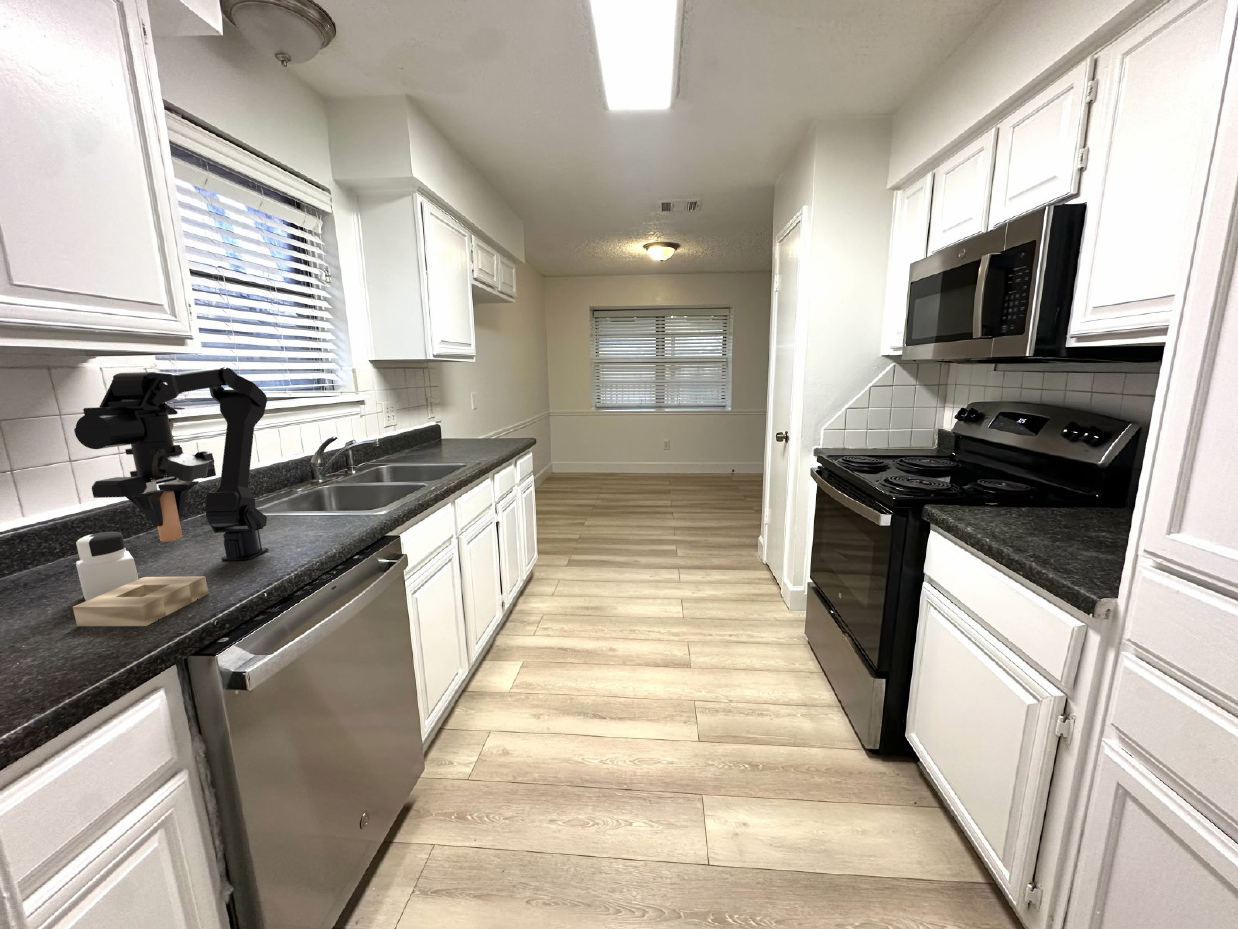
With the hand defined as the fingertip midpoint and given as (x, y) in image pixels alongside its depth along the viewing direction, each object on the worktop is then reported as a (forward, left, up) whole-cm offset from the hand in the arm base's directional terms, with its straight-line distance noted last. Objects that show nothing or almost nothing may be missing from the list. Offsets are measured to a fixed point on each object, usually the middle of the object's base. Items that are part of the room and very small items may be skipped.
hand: (168, 523), depth 94 cm
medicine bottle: (+3, -11, -13) cm, 18 cm away
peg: (0, 0, -3) cm, 3 cm away
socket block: (+9, +2, -13) cm, 16 cm away
